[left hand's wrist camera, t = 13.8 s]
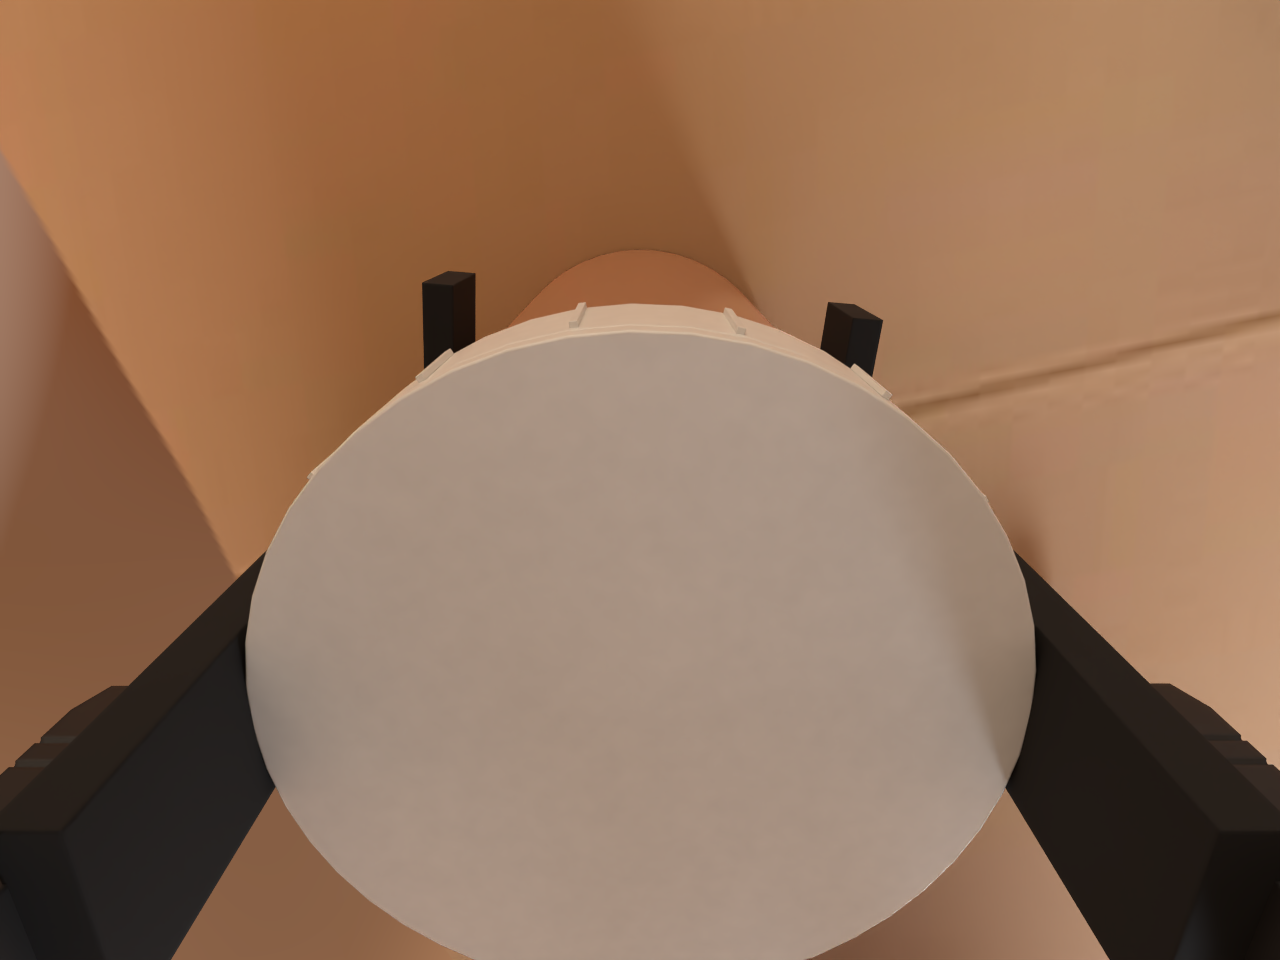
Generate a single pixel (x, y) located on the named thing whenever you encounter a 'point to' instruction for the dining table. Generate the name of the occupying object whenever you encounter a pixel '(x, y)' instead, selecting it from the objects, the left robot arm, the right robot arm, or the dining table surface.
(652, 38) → the dining table surface
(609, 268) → the jar
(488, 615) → the lid
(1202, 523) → the dining table surface
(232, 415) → the dining table surface
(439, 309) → the right robot arm
